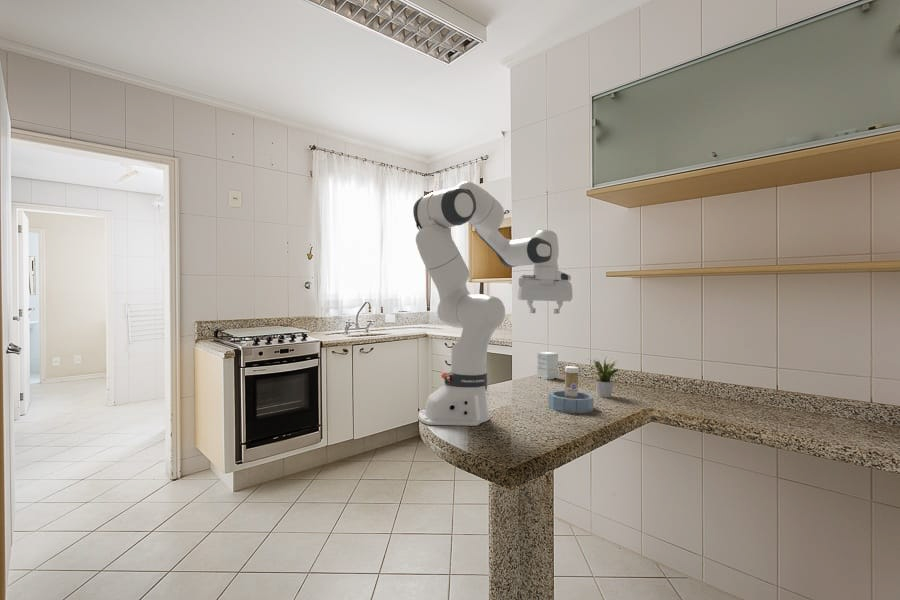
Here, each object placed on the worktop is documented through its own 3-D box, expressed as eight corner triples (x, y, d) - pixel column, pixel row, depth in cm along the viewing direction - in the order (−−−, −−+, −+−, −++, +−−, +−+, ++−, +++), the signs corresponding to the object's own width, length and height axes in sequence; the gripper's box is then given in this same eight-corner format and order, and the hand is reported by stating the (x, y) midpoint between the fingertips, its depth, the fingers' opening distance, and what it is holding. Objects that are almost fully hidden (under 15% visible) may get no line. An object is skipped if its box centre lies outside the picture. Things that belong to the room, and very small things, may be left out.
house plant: (583, 398, 164) (584, 356, 165) (581, 391, 178) (582, 352, 178) (622, 401, 161) (623, 358, 161) (617, 394, 174) (618, 354, 174)
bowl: (561, 413, 140) (561, 400, 140) (542, 403, 155) (542, 390, 155) (601, 412, 143) (601, 399, 143) (579, 402, 158) (579, 390, 158)
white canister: (547, 376, 213) (548, 351, 214) (558, 378, 207) (558, 353, 207) (536, 377, 210) (537, 352, 210) (546, 379, 203) (547, 353, 203)
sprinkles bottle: (569, 406, 146) (570, 368, 146) (561, 403, 150) (562, 366, 151) (580, 405, 148) (581, 367, 148) (572, 402, 152) (573, 365, 152)
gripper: (522, 273, 148) (521, 313, 148) (575, 276, 152) (574, 314, 152) (515, 275, 154) (514, 312, 154) (566, 277, 159) (565, 313, 159)
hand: (544, 313), depth 153 cm, fingers open, 8 cm apart
